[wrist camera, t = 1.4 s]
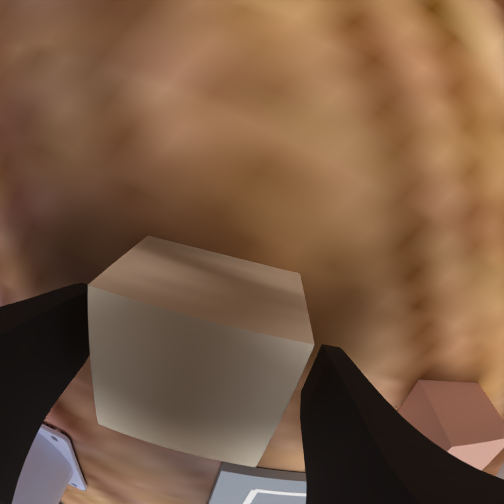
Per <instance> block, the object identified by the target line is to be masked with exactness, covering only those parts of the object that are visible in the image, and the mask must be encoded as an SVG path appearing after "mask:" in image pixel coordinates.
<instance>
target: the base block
mask: <svg viewBox="0 0 504 504" xmlns="http://www.w3.org/2000/svg"><path fill="white" fill-rule="evenodd" d="M88 328H89V347H90V361H91V372H92V382H93V391H94V399H95V407H96V414H97V420H98V424H100V425H102V426H105V427H107V428H110V429H112V430H115V431H118V432H120V433H123V434H126V435H129V436H132V437H135V438H137V439H140V440H143V441H147V442H150V443H153V444H156V445H159V446H163V447H166V448H170V449H173V450H177V451H180V452H184V453H188V454H192V455H196V456H200V457H205V458H209V459H214V460H218V461H223V462H228V463H233V464H239V465H245V466H251V467H256V466H257V464H258V462H259V460H260V458H261V456H262V455H263V453H264V451H265V449H266V447H267V445H268V443H269V441H270V439H271V437H272V435H273V433H274V431H275V429H276V427H277V425H278V423H279V421H280V419H281V417H282V415H283V413H284V411H285V409H286V407H287V405H288V403H289V401H290V399H291V397H292V394H293V392H294V390H295V388H296V386H297V384H298V381H299V379H300V377H301V375H302V373H303V370H304V368H305V366H306V364H307V361H308V359H309V357H310V354H311V352H312V350H313V347H314V339H313V334H312V329H311V324H310V319H309V314H308V309H307V304H306V299H305V294H304V290H303V285H302V280H301V276H300V273H296V272H292V271H288V270H284V269H280V268H276V267H272V266H268V265H263V264H259V263H255V262H251V261H247V260H243V259H239V258H235V257H231V256H227V255H223V254H220V253H216V252H212V251H208V250H204V249H200V248H196V247H192V246H188V245H184V244H180V243H176V242H172V241H168V240H164V239H160V238H157V237H153V236H149V235H148V236H147V237H145V238H144V239H143V240H142V241H140V242H139V243H138V244H137V245H135V246H134V247H133V248H132V249H130V250H129V251H128V252H127V253H125V254H124V255H123V256H122V257H120V258H119V259H118V260H117V261H116V262H114V263H113V264H112V265H111V266H110V267H108V268H107V269H106V270H105V271H104V272H102V273H101V274H100V275H99V276H98V277H96V278H95V279H94V280H93V281H92V282H91V283H89V284H88Z"/></svg>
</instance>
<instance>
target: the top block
mask: <svg viewBox="0 0 504 504" xmlns="http://www.w3.org/2000/svg"><path fill="white" fill-rule="evenodd" d="M398 413H399V414H400V415H401V416H402V417H403V418H404V419H406V420H407V421H408V422H409V423H410V424H411V425H412V426H414V427H415V428H416V429H417V430H418V431H420V432H421V433H422V434H423V435H424V436H426V437H427V438H428V439H430V440H431V441H432V442H434V443H435V444H437V445H438V446H440V447H441V448H442V449H444V450H445V451H447V452H448V453H450V454H452V455H453V456H455V457H457V458H458V459H460V460H462V461H463V462H465V463H467V464H469V465H471V466H473V467H475V468H477V469H479V470H482V469H483V468H484V467H485V466H486V465H487V464H488V463H489V462H490V461H491V460H492V459H493V458H494V457H495V456H496V455H497V454H498V453H499V452H500V451H501V450H502V449H503V447H504V421H503V420H502V418H501V416H500V415H499V413H498V412H497V410H496V409H495V407H494V406H493V404H492V403H491V401H490V400H489V398H488V397H487V395H486V394H485V392H484V391H483V389H482V388H481V386H480V385H479V383H473V382H450V381H434V380H420V379H419V380H418V381H417V383H416V384H415V386H414V388H413V389H412V391H411V392H410V394H409V395H408V397H407V398H406V400H405V401H404V403H403V404H402V406H401V407H400V409H399V410H398Z"/></svg>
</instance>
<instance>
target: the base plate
mask: <svg viewBox="0 0 504 504" xmlns="http://www.w3.org/2000/svg"><path fill="white" fill-rule="evenodd" d="M208 504H306V473H299V472H288V471H279V470H271V469H263V468H256V467H249V466H243V465H237V464H232V463H226V462H223V463H222V465H221V468H220V471H219V474H218V476H217V479H216V482H215V485H214V488H213V490H212V493H211V496H210V498H209V501H208Z"/></svg>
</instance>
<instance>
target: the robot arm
mask: <svg viewBox="0 0 504 504" xmlns="http://www.w3.org/2000/svg"><path fill="white" fill-rule="evenodd" d="M89 355H90V347H89V328H88V285H87V284H84V283H78V284H74V285H70V286H67V287H63V288H60V289H57V290H54V291H51V292H48V293H45V294H42V295H39V296H36V297H32V298H29V299H26V300H23V301H19V302H16V303H12V304H9V305H5V306H2V307H0V504H59V502H60V500H61V498H62V496H63V494H64V492H65V490H66V488H67V486H68V484H70V485H72V486H74V487H76V488H78V489H81V490H83V491H85V490H86V489H87V485H86V483H85V481H84V478H83V476H82V473H81V470H80V468H79V465H78V462H77V460H76V457H75V454H74V451H73V448H72V445H71V442H70V440H69V438H68V437H67V436H65V435H64V434H62V433H60V432H58V431H56V430H54V429H52V428H50V427H48V426H46V425H44V424H42V423H43V421H44V419H45V418H46V416H47V414H48V413H49V411H50V409H51V408H52V406H53V405H54V404H55V402H56V401H57V400H58V398H59V397H60V395H61V394H62V393H63V391H64V390H65V389H66V387H67V386H68V385H69V383H70V382H71V381H72V379H73V378H74V377H75V375H76V374H77V373H78V371H79V370H80V369H81V367H82V366H83V364H84V363H85V362H86V360H87V358H88V356H89ZM300 421H301V432H302V442H303V451H304V461H305V471H306V504H504V480H503V479H501V478H498V477H496V476H493V475H491V474H488V473H486V472H483V471H481V470H479V469H477V468H475V467H473V466H471V465H469V464H467V463H465V462H463V461H462V460H460V459H458V458H457V457H455V456H453V455H452V454H450V453H448V452H447V451H445V450H444V449H442V448H441V447H440V446H438V445H437V444H435V443H434V442H432V441H431V440H430V439H428V438H427V437H426V436H424V435H423V434H422V433H421V432H420V431H418V430H417V429H416V428H415V427H414V426H412V425H411V424H410V423H409V422H408V421H407V420H406V419H404V418H403V417H402V416H401V415H400V414H399V413H398V412H397V411H396V410H395V409H394V408H393V407H392V406H391V405H390V404H389V403H388V402H387V401H386V400H385V398H384V397H383V396H382V395H381V394H380V393H379V392H378V391H377V390H376V389H375V387H374V386H373V385H372V384H371V383H370V382H369V380H368V379H367V378H366V377H365V376H364V375H363V373H362V372H361V371H360V370H359V369H358V367H357V366H356V365H355V364H354V363H353V361H352V360H351V359H350V358H349V357H348V356H347V354H346V353H345V352H344V351H343V350H342V349H341V348H339V347H334V346H328V345H321V348H320V350H319V352H318V355H317V357H316V359H315V362H314V364H313V366H312V368H311V371H310V373H309V375H308V377H307V380H306V382H305V384H304V386H303V388H302V390H301V406H300Z"/></svg>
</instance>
